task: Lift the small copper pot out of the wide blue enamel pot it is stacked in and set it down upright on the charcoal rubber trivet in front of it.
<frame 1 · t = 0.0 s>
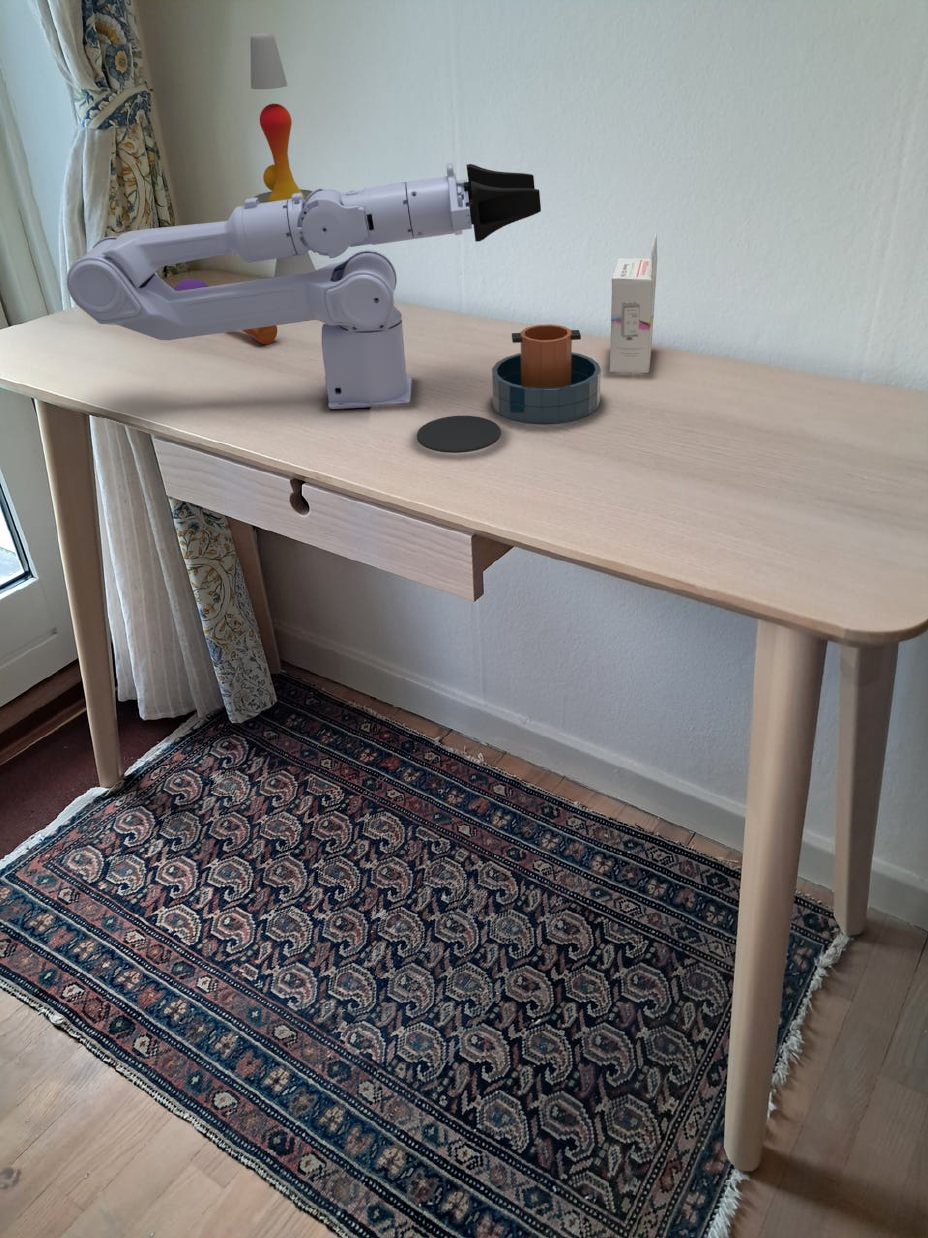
hand: (537, 192, 104), 22 cm above the table, tool horizontal, fingers open, 7 cm apart
lava lamp: (299, 302, 149), on the table
ink cartridge box: (630, 365, 122), on the table
maraca: (226, 331, 139), on the table
trivet: (459, 439, 106), on the table
small pot: (545, 402, 111), point 1 cm above the table, touching big pot
big pot: (545, 407, 112), on the table
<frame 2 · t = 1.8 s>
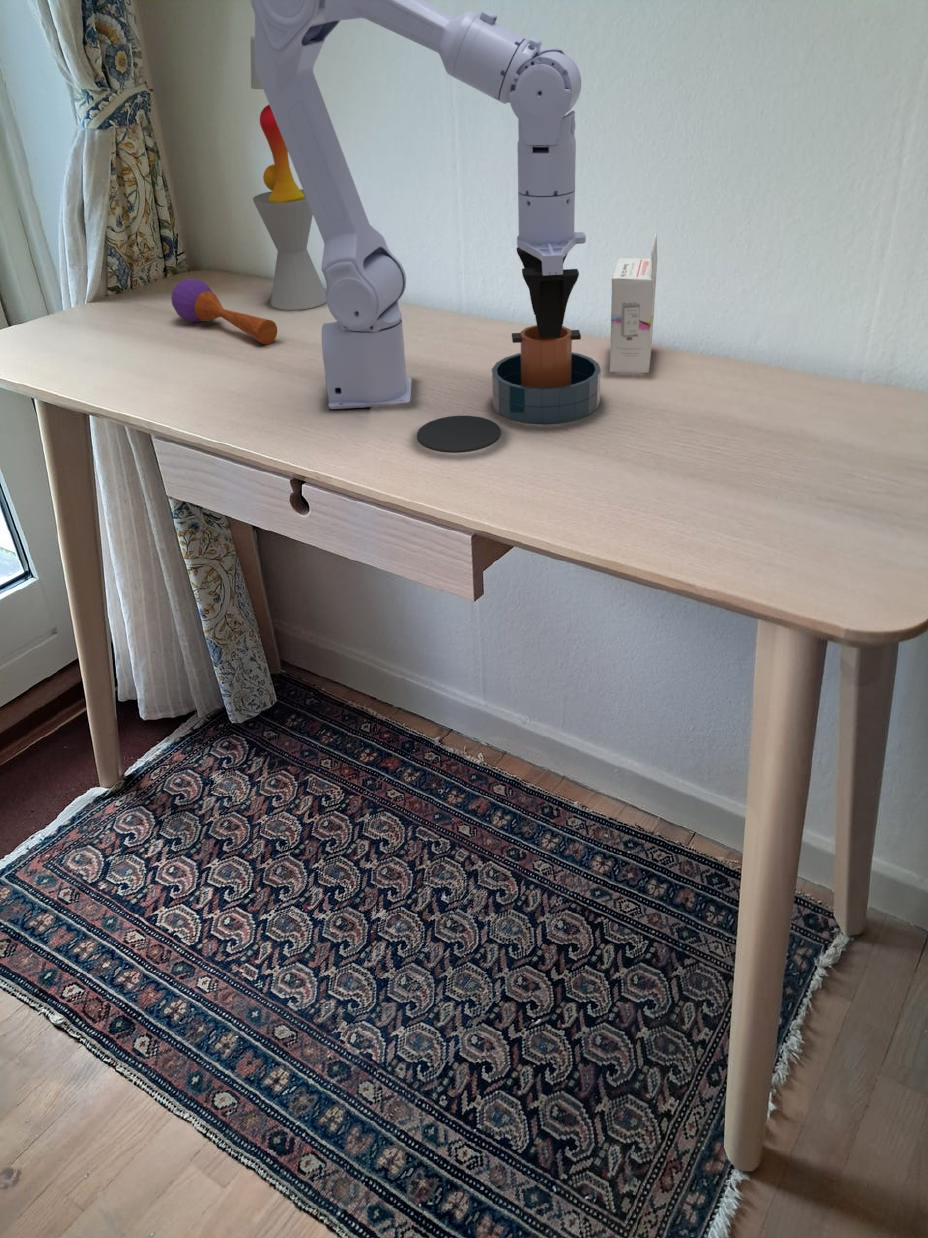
hand: (546, 324, 106), 9 cm above the table, tool pointing down, fingers open, 7 cm apart
nothing on the table moved.
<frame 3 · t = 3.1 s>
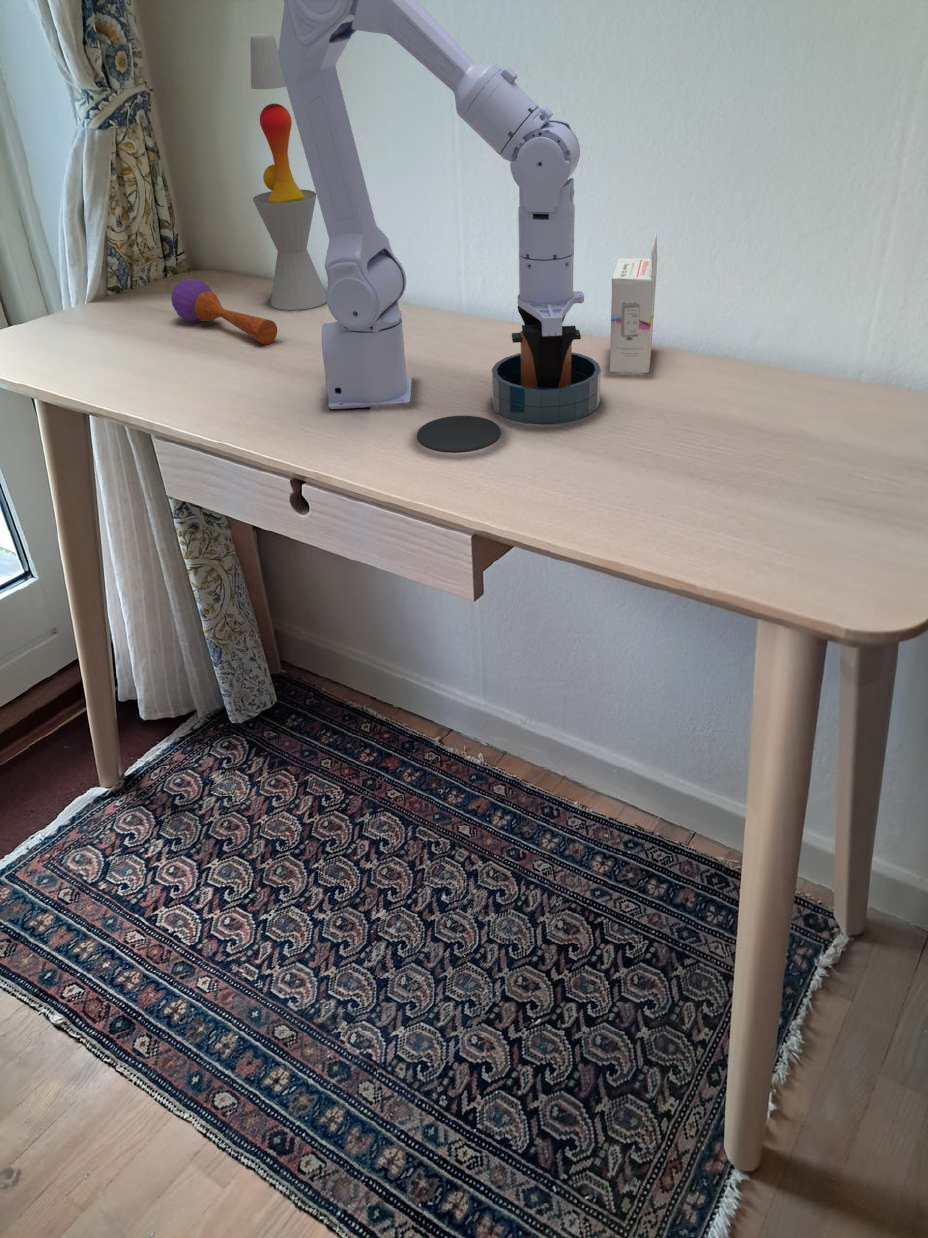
hand: (545, 378, 110), 3 cm above the table, tool pointing down, fingers closed on small pot, 5 cm apart
small pot: (545, 401, 112), point 1 cm above the table, touching big pot, gripper
everything else where it was.
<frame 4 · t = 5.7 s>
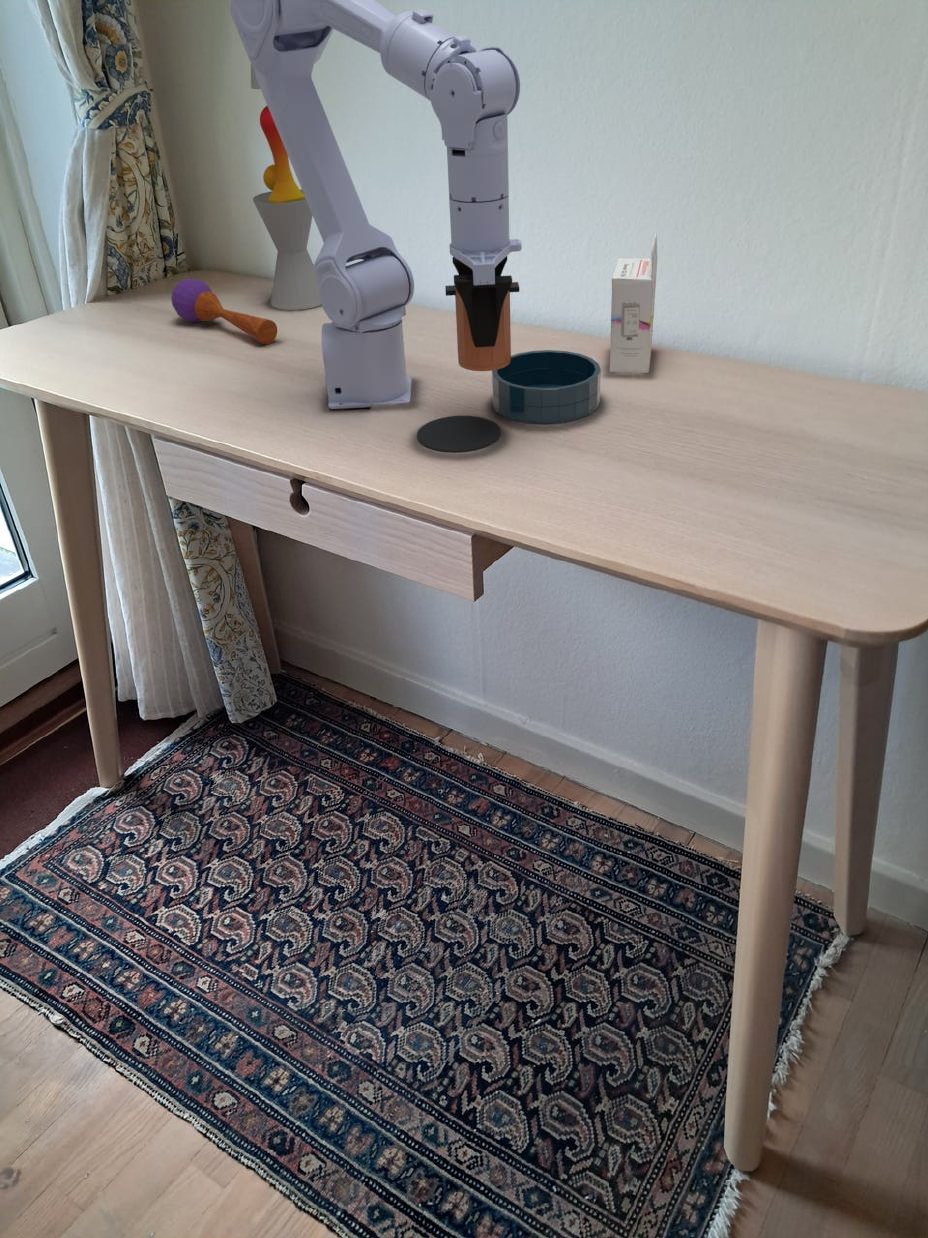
hand: (483, 335, 102), 10 cm above the table, tool pointing down, fingers closed on small pot, 5 cm apart
small pot: (484, 361, 103), point 8 cm above the table, touching gripper
everything else where it was.
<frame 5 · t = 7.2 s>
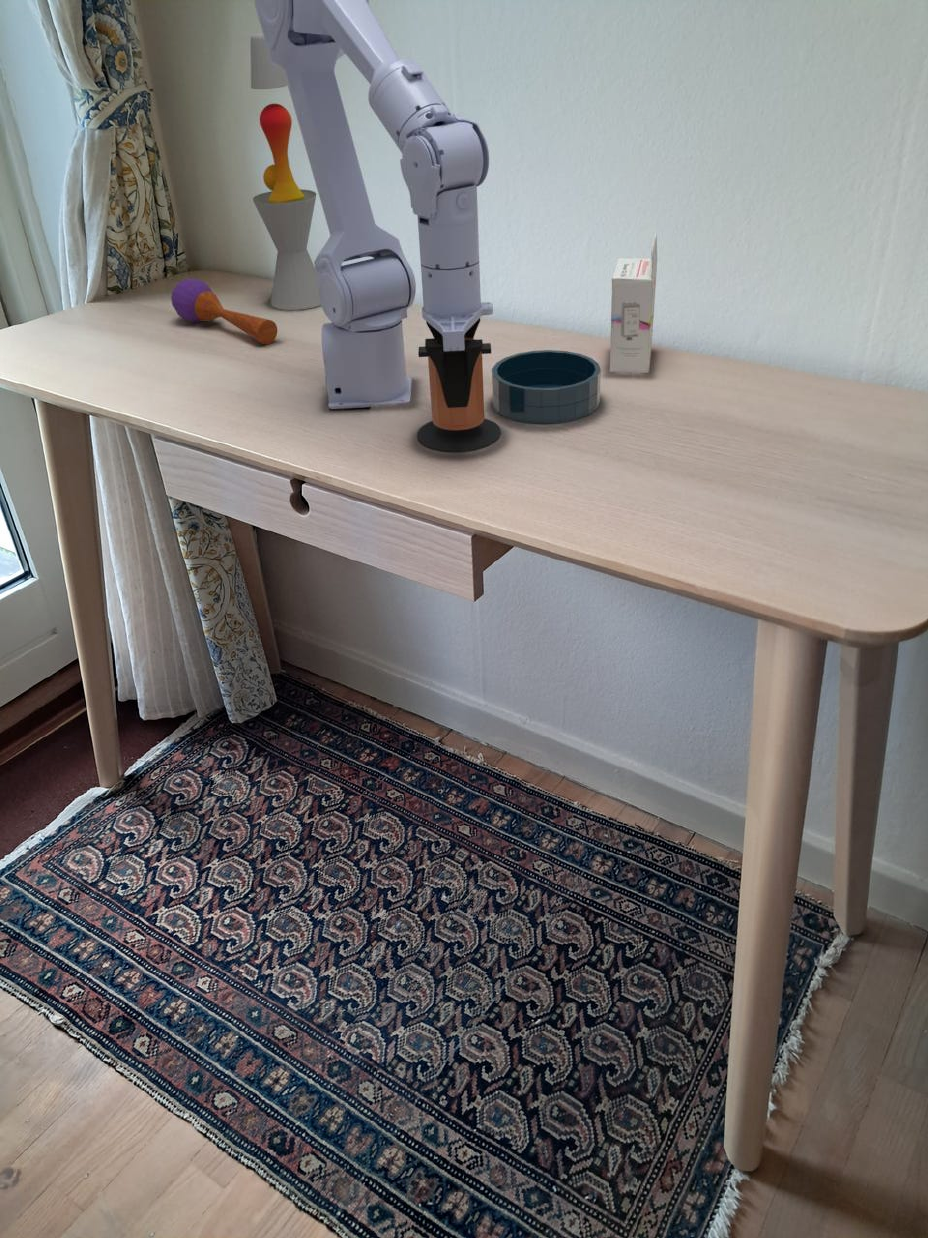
hand: (456, 394, 103), 5 cm above the table, tool pointing down, fingers closed on small pot, 5 cm apart
small pot: (458, 419, 105), point 2 cm above the table, touching gripper
everything else where it was.
when the fingers open (4 cm above the table, at t = 8.2 s): small pot stays where it is, resting on trivet.
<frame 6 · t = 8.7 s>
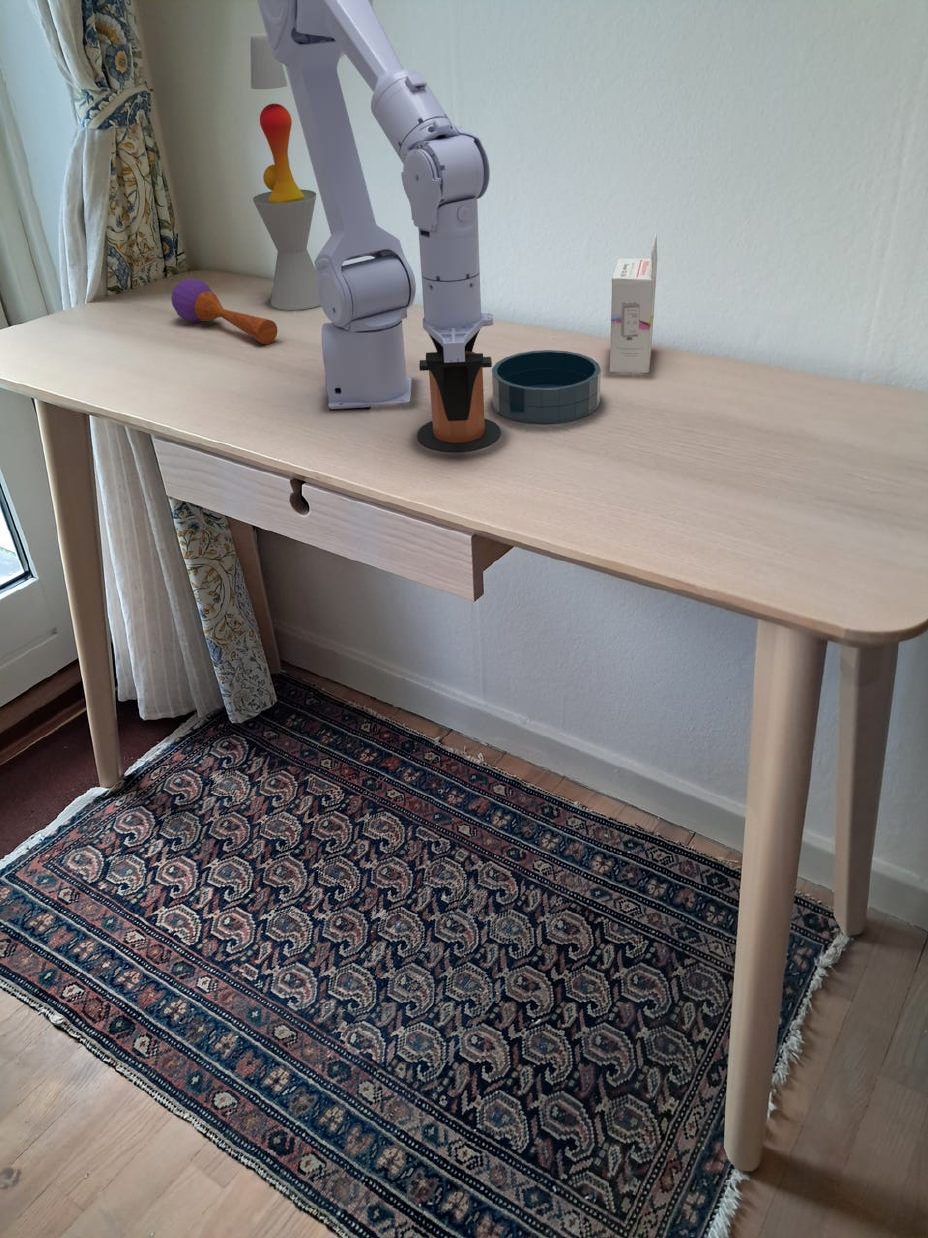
hand: (457, 404, 104), 4 cm above the table, tool pointing down, fingers open, 7 cm apart
small pot: (459, 432, 105), point 1 cm above the table, touching trivet
everything else where it was.
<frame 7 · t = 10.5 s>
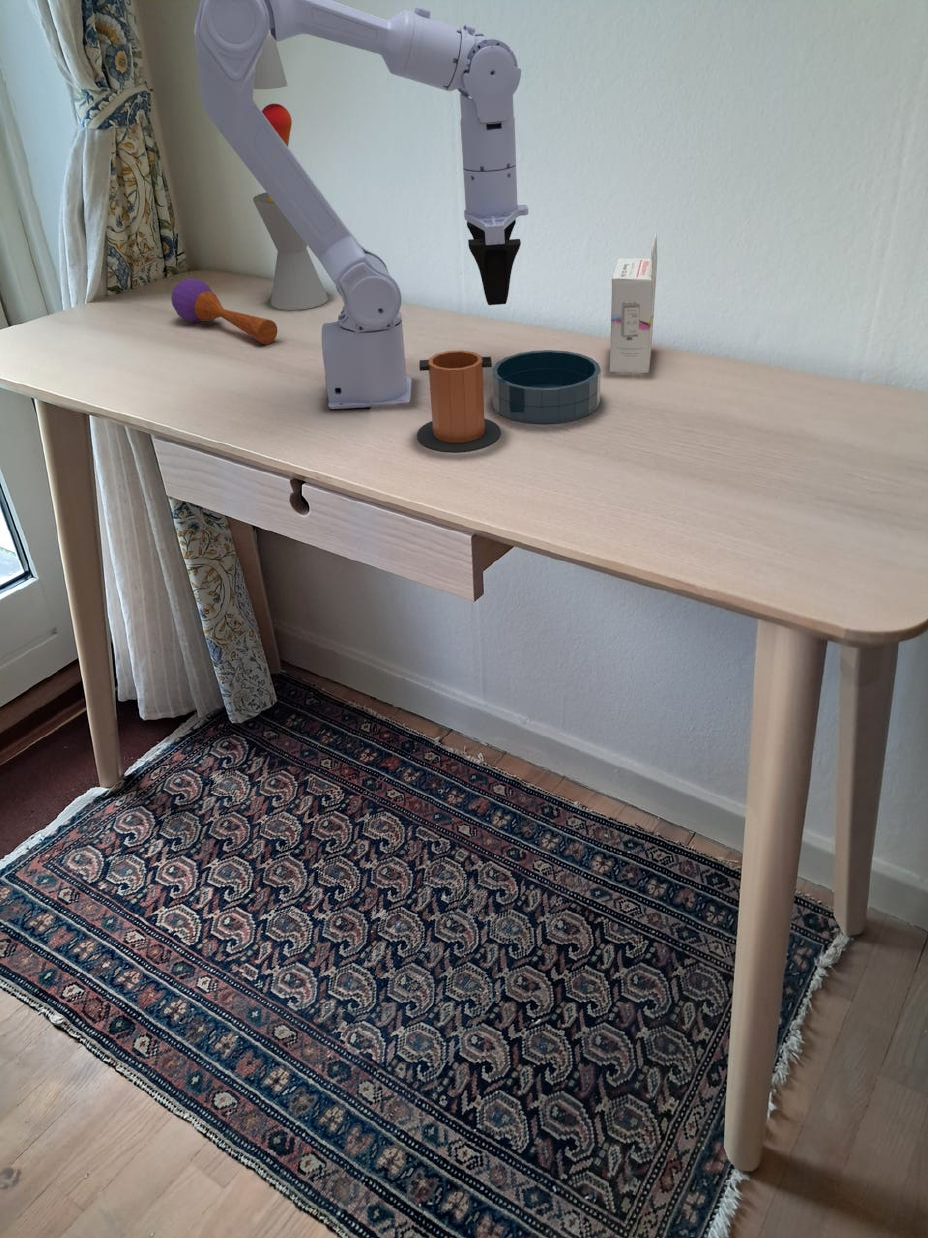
hand: (495, 293, 113), 10 cm above the table, tool pointing down, fingers open, 7 cm apart
nothing on the table moved.
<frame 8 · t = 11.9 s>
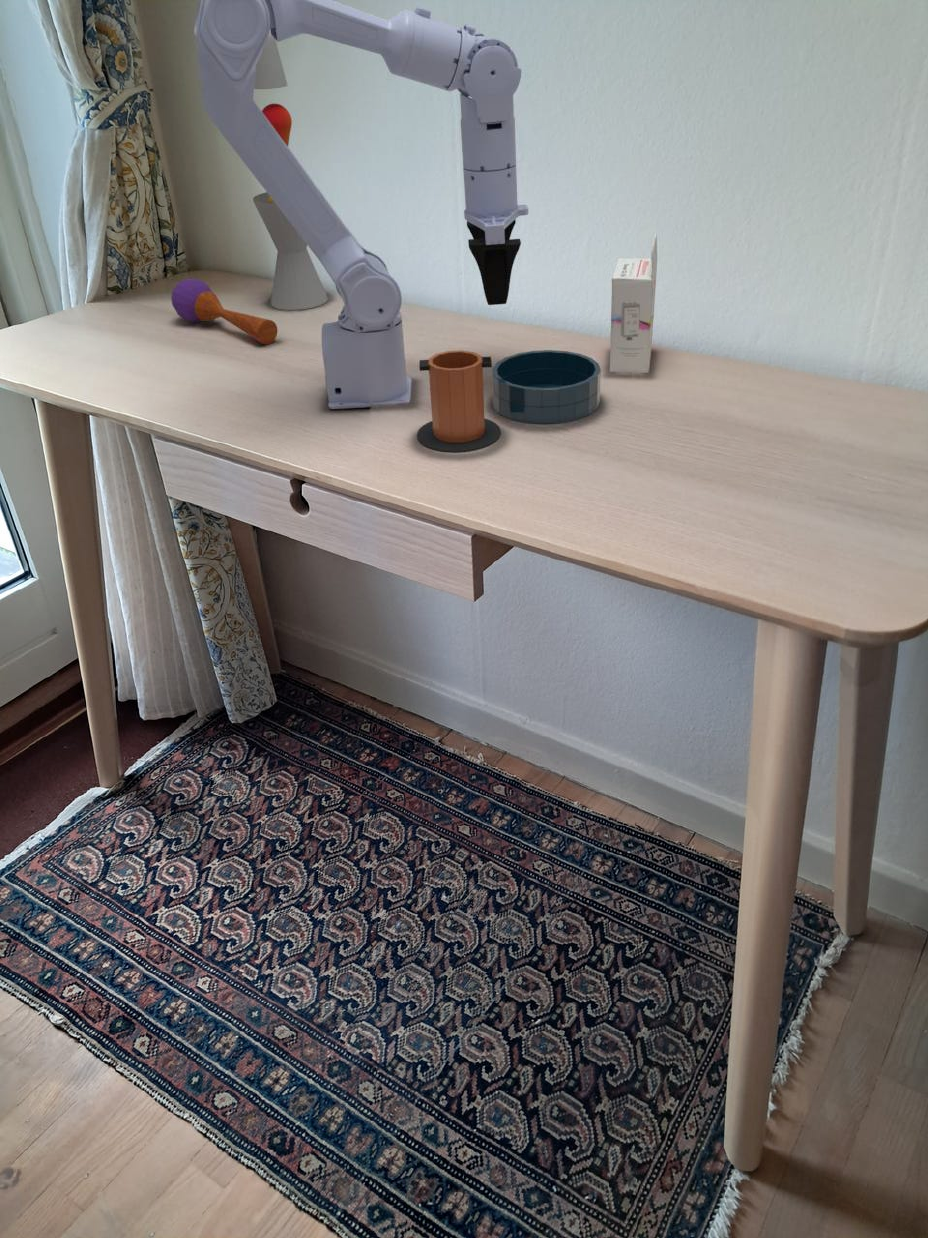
hand: (495, 293, 113), 10 cm above the table, tool pointing down, fingers open, 7 cm apart
nothing on the table moved.
at the end: small pot 0.0 cm off-centre on the trivet, point 0.8 cm above the trivet's base; small pot tilted 0°; small pot touching trivet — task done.
